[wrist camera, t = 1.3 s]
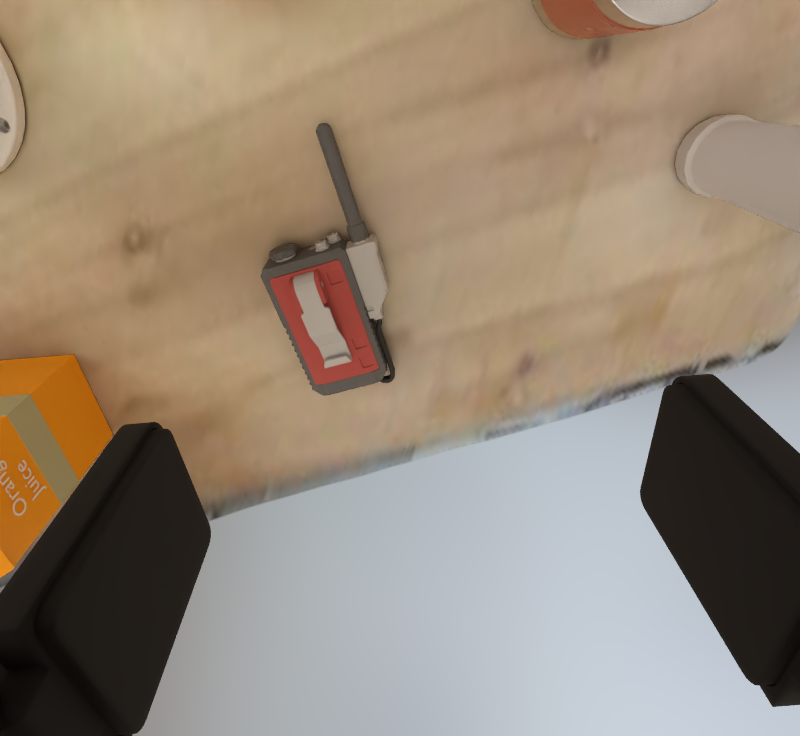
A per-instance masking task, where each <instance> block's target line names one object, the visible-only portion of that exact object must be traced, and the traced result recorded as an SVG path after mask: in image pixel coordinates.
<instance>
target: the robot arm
mask: <svg viewBox="0 0 800 736" xmlns="http://www.w3.org/2000/svg"><path fill="white" fill-rule="evenodd" d="M8 124H9V125H8ZM24 129H25V108H24V102H23V97H22V93H21V88H20V84H19V81H18V79H17V76H16V74H15V71H14V68H13V66H12V63H11V61H10V59H9V58H8V56H7V54H6V52H5V50H4V48H3V47H2V45H1V43H0V173H1V172H2V171H4V170H5V169H6V168H7V167H8V166H9V165H10V163H11V162H12V161H13V160H14V159H15V157H16V155H17V153H18V151H19V148H20V146H21V144H22V140H23V134H24ZM640 495H641V501H642V503H643V506H644V508H645V510H646V512H647V514H648V515H649V517H650V519H651V520H652V522H653V523H654V525H655V527H656V529H657V530H658V532H659V533H660V535H661V537H662V539H663V540H664V542H665V544H666V545H667V547H668V549H669V550H670V552H671V554H672V555H673V557H674V559H675V560H676V562H677V564H678V565H679V567H680V569H681V570H682V572H683V574H684V575H685V577H686V579H687V580H688V582H689V584H690V585H691V587H692V589H693V590H694V592H695V594H696V595H697V597H698V599H699V600H700V602H701V604H702V605H703V607H704V609H705V611H706V612H707V614H708V615H709V617H710V619H711V621H712V622H713V624H714V626H715V627H716V629H717V631H718V632H719V634H720V636H721V637H722V639H723V640H724V642H725V644H726V646H727V647H728V649H729V650H730V652H731V654H732V656H733V657H734V659H735V660H736V662H737V664H738V666H739V667H740V669H741V671H742V672H743V674H744V675H745V677H746V678H747V679H748V680H749V681H750V682H751V683H753V684H754V685H760V687H761V689H762V690H763V692H764V693H765V695H766V697H767V698H768V700H769V702H770V703H771V705H772V706H773V707H776V706H789V705H800V453H798V452H797V451H796V450H795V449H794V448H793V447H792V446H791V445H790V444H789V443H788V442H786V441H785V440H784V439H783V438H782V437H781V436H780V435H779V434H778V433H777V432H776V431H775V430H774V429H773V428H771V427H770V426H769V425H768V424H767V423H766V422H765V421H764V420H763V419H761V417H759V416H758V415H757V414H756V413H755V412H754V411H753V410H752V409H751V408H750V407H749V406H747V405H746V404H745V403H744V402H743V401H742V400H741V399H740V398H739V397H738V396H737V395H736V394H735V393H733V392H732V391H731V390H730V389H729V388H728V387H727V386H726V385H725V384H724V383H723V382H721V381H720V380H719V379H718V378H717V377H716V376H714V375H711V374H703V375H692V376H680V377H677V378H676V379H675V380H674V381H673V383H672V385H669V386H666V388H665V389H664V392H663V395H662V400H661V404H660V408H659V413H658V417H657V421H656V425H655V429H654V433H653V438H652V442H651V446H650V451H649V455H648V459H647V463H646V468H645V472H644V476H643V480H642V484H641V489H640ZM210 538H211V531H210V526H209V522H208V520H207V517H206V515H205V512H204V510H203V508H202V505H201V503H200V500H199V498H198V495H197V493H196V491H195V488H194V486H193V483H192V481H191V478H190V476H189V474H188V471H187V469H186V466H185V464H184V461H183V459H182V457H181V454H180V452H179V449H178V447H177V444H176V442H175V440H174V437H173V435H172V433H171V431H170V430H168V429H163V428H162V426H161V425H160V424H159V423H156V422H150V423H138V424H127V425H124V426H122V427H121V428H120V429H119V430H118V431H117V433H116V434H115V436H114V437H113V438H112V440H111V441H110V442H109V444H108V445H107V447H106V448H105V449H104V451H103V452H102V454H101V455H100V456H99V458H98V459H97V460H96V462H95V463H94V465H93V466H92V467H91V469H90V470H89V471H88V473H87V474H86V476H85V477H84V478H83V480H82V481H81V483H80V484H79V485H78V487H77V488H76V489H75V491H74V492H73V494H72V495H71V496H70V498H69V499H68V501H67V502H66V503H65V505H64V506H63V507H62V509H61V510H60V512H59V513H58V514H57V516H56V517H55V518H54V520H53V521H52V523H51V524H50V525H49V527H48V528H47V530H46V531H45V532H44V534H43V535H42V536H41V538H40V539H39V541H38V542H37V543H36V545H35V546H34V548H33V549H32V550H31V552H30V553H29V554H28V556H27V557H26V559H25V560H24V561H23V563H22V564H21V565H20V567H19V568H18V570H17V571H16V572H15V574H14V575H13V577H12V578H11V579H10V581H9V582H8V583H7V585H6V586H5V588H4V589H3V590H2V592H1V593H0V736H132V734H135V733H137V732H139V731H140V730H141V728H142V727H143V725H144V723H145V721H146V719H147V716H148V713H149V711H150V707H151V705H152V702H153V699H154V696H155V694H156V691H157V688H158V686H159V683H160V680H161V677H162V674H163V672H164V669H165V666H166V663H167V660H168V658H169V655H170V652H171V649H172V647H173V644H174V641H175V638H176V635H177V633H178V630H179V627H180V624H181V622H182V619H183V616H184V613H185V610H186V607H187V605H188V602H189V599H190V597H191V594H192V591H193V588H194V585H195V583H196V580H197V577H198V574H199V571H200V569H201V565H202V563H203V560H204V558H205V555H206V552H207V549H208V546H209V543H210Z"/></svg>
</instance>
